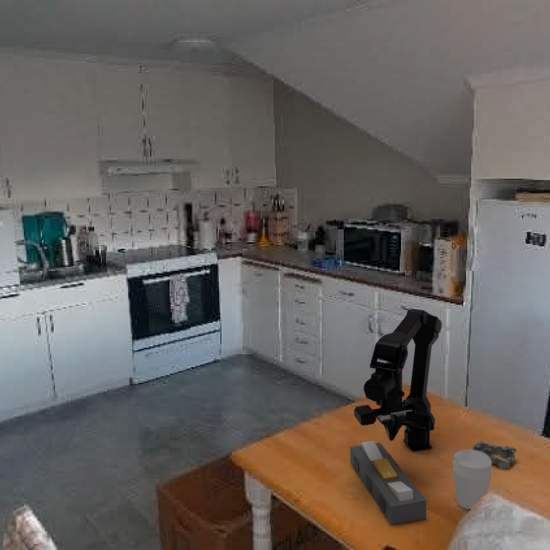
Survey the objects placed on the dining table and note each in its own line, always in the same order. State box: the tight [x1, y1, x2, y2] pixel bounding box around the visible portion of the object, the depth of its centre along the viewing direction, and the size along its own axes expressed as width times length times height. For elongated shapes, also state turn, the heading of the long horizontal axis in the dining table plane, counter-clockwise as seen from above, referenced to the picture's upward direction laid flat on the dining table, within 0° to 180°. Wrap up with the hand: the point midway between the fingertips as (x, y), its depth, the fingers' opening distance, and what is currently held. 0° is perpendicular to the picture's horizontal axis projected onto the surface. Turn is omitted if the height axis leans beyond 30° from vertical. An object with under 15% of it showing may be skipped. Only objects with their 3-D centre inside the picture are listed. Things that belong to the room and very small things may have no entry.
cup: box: [452, 449, 493, 511], centre depth 138 cm, size 9×9×12 cm
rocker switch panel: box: [349, 442, 428, 526], centre depth 146 cm, size 9×28×5 cm, turn 12°
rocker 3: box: [387, 481, 413, 502], centre depth 136 cm, size 4×7×2 cm, turn 12°
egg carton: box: [471, 440, 517, 470], centre depth 158 cm, size 11×8×4 cm
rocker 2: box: [373, 458, 397, 481], centre depth 145 cm, size 4×7×2 cm, turn 12°
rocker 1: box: [361, 440, 383, 462], centre depth 154 cm, size 4×7×2 cm, turn 12°
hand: (391, 440), depth 149 cm, fingers closed
